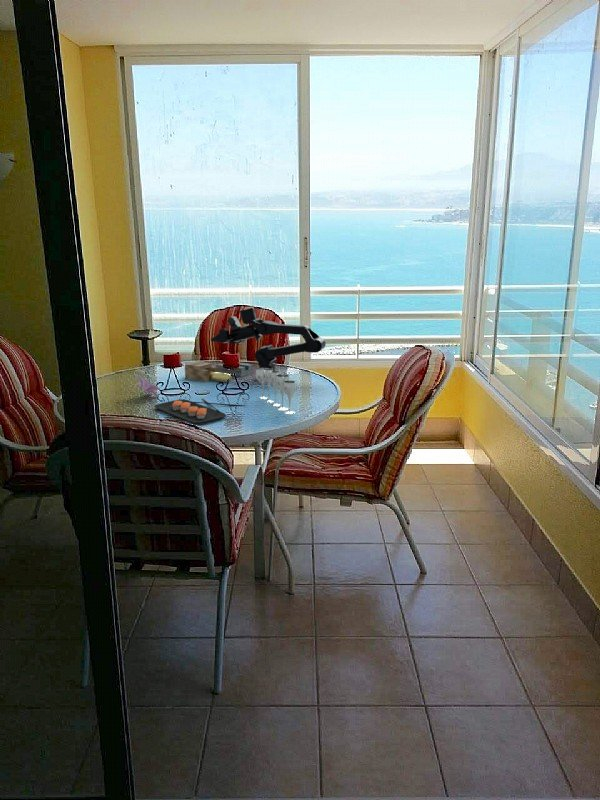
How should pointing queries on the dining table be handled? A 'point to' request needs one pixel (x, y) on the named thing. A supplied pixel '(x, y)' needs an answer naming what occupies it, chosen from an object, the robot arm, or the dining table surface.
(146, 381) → the lily
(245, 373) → the v block
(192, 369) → the wooden block
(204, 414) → the sushi plate
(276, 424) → the dining table surface
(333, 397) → the dining table surface
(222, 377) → the axle
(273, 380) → the goblet set
